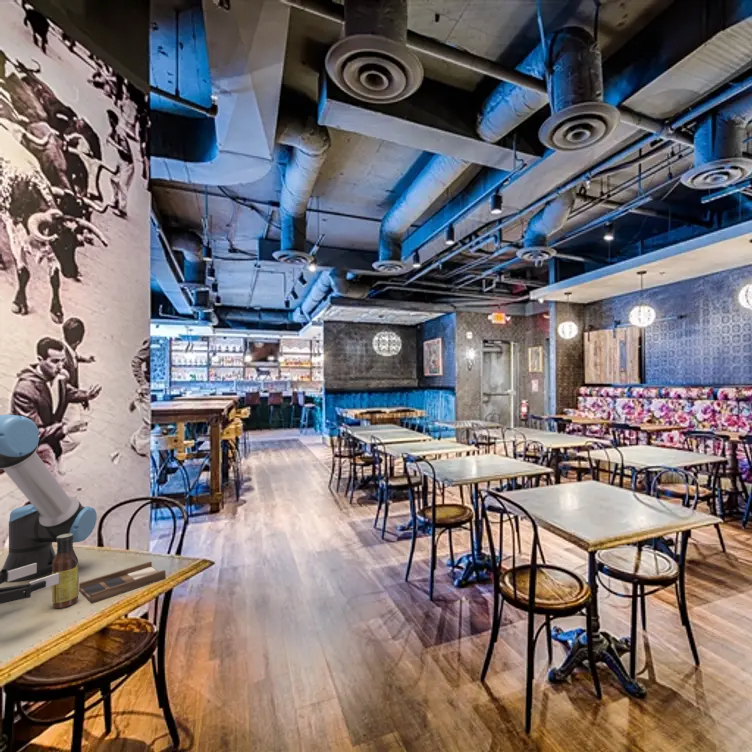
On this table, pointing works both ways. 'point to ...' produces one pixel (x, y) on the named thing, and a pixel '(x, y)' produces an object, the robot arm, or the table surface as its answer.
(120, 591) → the trap channel board
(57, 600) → the sauce bottle
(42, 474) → the robot arm
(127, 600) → the table surface
